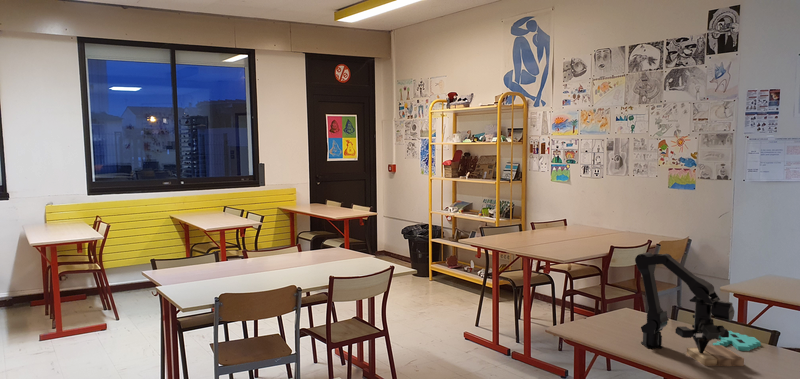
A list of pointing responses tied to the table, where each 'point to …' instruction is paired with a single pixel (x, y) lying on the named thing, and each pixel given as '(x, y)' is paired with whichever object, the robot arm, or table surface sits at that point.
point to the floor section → (724, 356)
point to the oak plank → (702, 357)
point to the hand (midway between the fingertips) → (701, 352)
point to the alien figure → (739, 341)
